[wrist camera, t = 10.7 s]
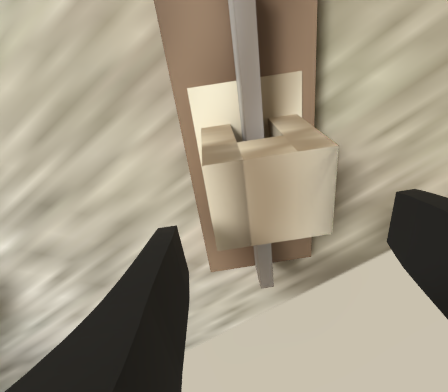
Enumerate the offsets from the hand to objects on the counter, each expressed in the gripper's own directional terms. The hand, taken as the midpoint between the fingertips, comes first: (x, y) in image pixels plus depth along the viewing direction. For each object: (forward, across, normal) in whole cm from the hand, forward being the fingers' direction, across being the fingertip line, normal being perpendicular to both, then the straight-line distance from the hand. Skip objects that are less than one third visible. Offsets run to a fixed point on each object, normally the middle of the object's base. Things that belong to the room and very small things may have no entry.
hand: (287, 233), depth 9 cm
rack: (+9, 0, 0) cm, 9 cm away
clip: (+7, 0, 0) cm, 7 cm away
